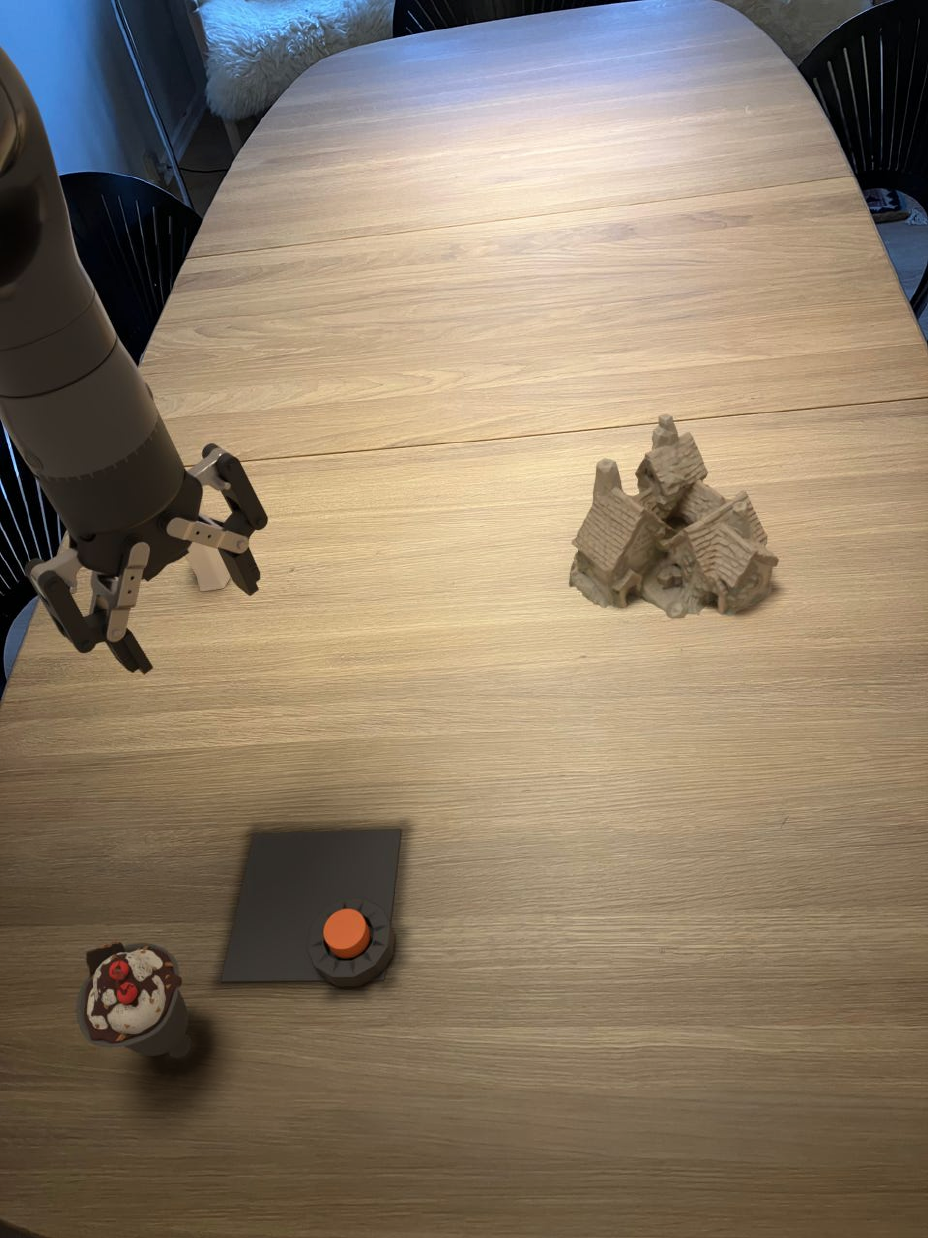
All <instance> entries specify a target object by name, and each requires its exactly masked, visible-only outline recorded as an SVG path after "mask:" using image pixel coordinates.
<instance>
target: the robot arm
mask: <svg viewBox="0 0 928 1238" xmlns="http://www.w3.org/2000/svg"><path fill="white" fill-rule="evenodd" d="M44 123H45V122H44V120H43V118H42V115H41V112H40V109H39V107H38V105H37V101H35V98H34V95H33V94H32V91H31V89H30V87H29V86H28V84H27V82H26V80H25V78H24V76H23V74H22V73H21V71H20V70H19V69H18V67H17V65H16V64H15V63H14V61H13V60H12V59H11V57H10V55H8V54H7V52H6V51H5V49H4V48H3V46H2V45H0V421H1V423H2V426H3V427H4V429H5V431H6V433H7V435H9V436H8V437H10V439H11V440H12V443H13V444H14V446H15V448H16V449H17V451H18V452H19V454H20V455H21V457H22V458H23V460H24V463H25V464H26V465H27V467H28V468H29V470H30V471H31V473H32V475H33V476H34V479H35V480H36V482H37V483H38V484H39V486H40V488H41V489H42V491H43V493H44V494H45V496H46V498H47V500H48V502H49V503H50V505H51V506H52V508H53V509H54V511H55V513H56V514H57V516H58V517H59V519H60V520H61V522H62V524H63V525H64V527H65V529H66V531H67V534H68V549H66V550H64V551H63V552H61V553H59V554H57V555H56V556H54V557H52V558H50V559H49V560H47V561H44V560H43V559H42V558H39V557H38V558H37V557H35V558H32V559H30V560H29V561H28V562H26V565H25V567H24V573H25V575H26V576H27V578H28V580H29V582H30V583H31V585H32V587H33V589H34V591H35V593H36V594H37V595H38V597H39V599H40V601H41V602H42V604H43V605H44V608H45V610H46V611H47V613H48V614H49V616H50V618H51V620H52V621H53V623H54V625H55V627H56V628H57V630H58V632H59V633H60V634H61V635H62V636H63V637H64V638H66V639H67V640H68V642H69V643H71V644H72V645H73V647H74V649H76V650H77V652H78V653H81V654H88V653H91V652H92V651H93V650H94V649H95V648H96V646H97V644H101V643H105V645H106V646H107V647H108V649H109V650H110V652H111V654H112V655H113V657H114V658H115V660H116V661H117V662H118V663H119V664H120V665H121V666H122V667H123V668H125V670H127V671H128V672H130V673H132V674H134V673H135V672H137V671H139V672H140V673H142V674H143V676H144V675H146V674H148V673H149V672H150V671H152V670H153V669H154V666H153V664H152V662H151V661H150V659H149V658H148V656H147V654H146V653H145V651H144V650H143V648H142V646H141V645H140V643H139V641H138V640H137V638H136V637H135V635H134V633H133V631H131V629H129V628H128V623H129V619H130V618H129V617H130V613H131V609H134V608H135V607H136V606H137V602H138V597H139V593H140V588H141V583H142V581H143V580H144V581H146V582H147V583H148V582H150V581H151V580H152V579H154V578H155V577H157V576H158V575H159V574H160V573H161V572H162V571H163V570H164V569H165V568H166V567H167V566H169V565H170V564H173V563H175V562H178V561H180V560H182V558H185V555H187V554H188V553H189V551H188V548H189V547H190V545H191V544H192V542H195V543H199V544H202V545H205V546H209V547H212V548H215V549H218V551H219V553H220V555H221V557H222V559H223V561H224V564H225V566H226V568H227V570H228V572H229V574H230V576H231V578H230V579H231V580H232V582H233V584H235V586H236V587H237V588H239V589H240V590H241V591H242V592H244V593H245V594H246V595H247V596H248V597H251V596H253V595H254V594H255V593H257V592H258V591H259V590H260V588H259V586H258V582H260V581H261V570H260V568H259V566H258V564H257V562H256V560H255V557H254V555H253V552H252V550H251V548H250V538H251V536H252V535H253V534H254V533H255V531H261V530H263V529H265V528H266V526H267V525H268V522H269V516H268V515H267V513H266V510H265V509H264V507H263V504H262V503H261V500H260V498H259V497H258V494H257V492H256V491H255V488H254V487H253V485H252V483H251V481H250V479H249V477H248V475H247V473H246V470H245V469H244V467H243V465H242V462H241V461H240V459H239V458H237V457H236V456H234V454H232V453H230V452H228V451H227V450H226V449H224V448H222V447H221V446H219V445H218V444H216V443H214V442H211V443H208V444H206V445H205V446H204V447H203V448H202V451H201V457H202V459H201V460H200V461H198V462H197V463H196V464H195V465H193V466H192V467H190V468H189V469H187V470H186V468H185V465H184V462H183V460H182V458H181V456H180V454H179V452H178V450H177V448H176V446H175V443H174V441H173V439H172V438H171V435H170V432H169V431H168V429H167V426H166V424H165V422H164V420H163V417H162V416H161V414H160V411H159V410H158V407H157V405H156V403H155V401H154V400H155V399H154V394H153V392H152V389H151V388H150V386H149V384H148V382H146V381H145V380H144V378H143V375H142V373H141V371H140V369H139V367H138V365H137V364H136V362H135V361H134V359H133V357H132V356H131V354H130V353H129V352H128V350H127V349H126V347H125V346H124V344H123V343H122V341H121V339H120V338H119V336H118V334H117V332H116V330H115V328H114V326H113V324H112V321H111V320H110V316H109V315H108V313H107V311H106V309H105V307H104V304H103V303H102V300H101V298H100V296H99V293H98V292H97V290H96V287H95V286H94V283H93V282H92V280H91V278H90V276H89V274H88V273H87V271H86V269H85V267H84V265H83V264H82V261H81V259H80V257H79V254H78V250H77V246H76V243H75V238H74V233H73V230H72V224H71V218H70V213H69V208H68V204H67V201H66V198H65V193H64V190H63V187H62V183H61V179H60V176H59V172H58V168H57V163H56V161H55V157H54V154H53V153H54V152H53V149H52V145H51V143H50V139H49V136H48V132H47V129H46V126H45V124H44ZM204 486H209V487H211V488H212V489H213V490H215V491H217V492H221V494H222V497H223V499H224V500H225V502H226V504H227V506H228V507H229V509H230V511H231V513H230V515H229V516H228V517H227V518H226V520H225V521H224V520H221V519H219V518H216V517H212V516H209V515H208V516H207V515H204V514H202V513H200V512H199V511H200V506H201V501H202V500H203V496H204V489H203V487H204ZM83 567H84V568H85V569H87V570H89V571H91V576H90V582H89V583H90V588H91V590H92V593H91V594H92V595H91V599H90V605H89V610H88V614H87V615H85V616H84V615H83V613H82V612H81V609H80V607H79V606H78V603H77V602H76V601H75V599H74V596H73V595H75V594H76V593H78V578H77V576H78V575H77V574H78V572H79V571H80V570H81V569H82V568H83Z"/></svg>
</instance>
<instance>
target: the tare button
mask: <svg viewBox="0 0 928 1238" xmlns="http://www.w3.org/2000/svg"><path fill="white" fill-rule="evenodd" d="M323 934H324V939H325V941H326V943H327V944H328V946H329V948H330V949H331V951H332V952H333V953H334V954H335V955H336V956H338V957H340V958H344V959H349V958H353V957H356V956H358V955H360V954H361V953H362V952H363V951H364V950H365V949H366V948H367V946H368V944H369V941H370V930H369V927H368V925H367V923H366V921H365V919H364V917H363V916H362V915H361V914H360V913H359V912H358V911H356V910H353V909H342V910H339V911H337V912H335V913H334V914H332V915H331V916H330V917H329V919H328V920H327V921H326V923H325V926H324V931H323Z"/></svg>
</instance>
